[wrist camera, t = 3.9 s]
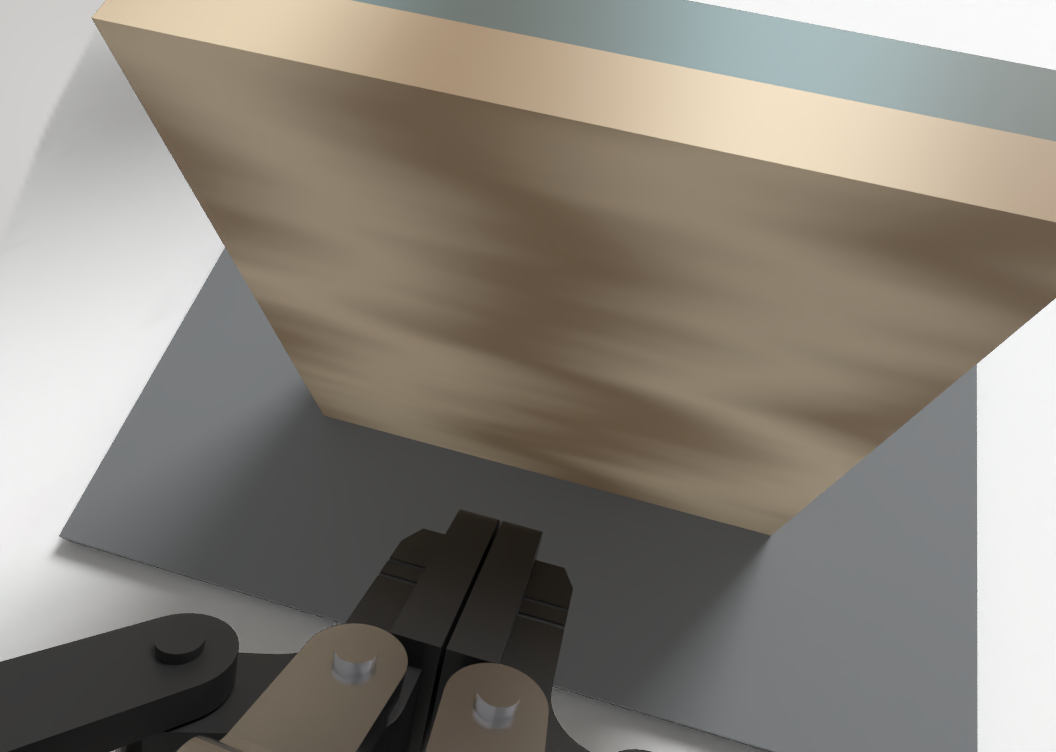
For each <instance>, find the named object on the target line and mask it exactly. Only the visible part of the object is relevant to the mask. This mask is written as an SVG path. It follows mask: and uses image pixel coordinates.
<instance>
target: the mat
mask: <svg viewBox="0 0 1056 752" xmlns="http://www.w3.org/2000/svg"><path fill="white" fill-rule="evenodd" d="M460 509H462V510H466V511H469V512H473V513H476V514H480V515H484V516H487V517H491V518H495V519H498V520H500V526H501V523H502V522H503V521H506V522H510V523H513V524H517V525H520V526H524V527H528V528H531V529H535V530H539V531H542V532H543V534H542V538H541V543H540V547H539V551H538V555H537V560H538V561H542V562H546V563H549V564H553V565H556V566H560V567H563V568H565V570H566V572H567V575H568V577H569V580H570V582H571V585H572V587H573V591H572V596H571V601H570V606H569V610H568V615H567V620H566V625H565V629H564V634H563V639H562V644H561V648H560V653H559V658H558V663H557V667H556V672H555V677H554V682H553V686H554V687H557V688H560V689H564V690H567V691H570V692H574V693H577V694H580V695H584V696H587V697H590V698H594V699H597V700H600V701H604V702H607V703H610V704H614V705H617V706H620V707H624V708H627V709H630V710H634V711H637V712H640V713H644V714H647V715H650V716H653V717H657V718H660V719H663V720H667V721H670V722H673V723H677V724H680V725H683V726H687V727H690V728H693V729H697V730H700V731H703V732H707V733H710V734H713V735H717V736H720V737H723V738H727V739H730V740H733V741H737V742H740V743H743V744H747V745H750V746H753V747H757V748H760V749H763V750H767V751H770V752H977V364H976V365H975V366H974V367H972V368H971V369H970V370H969V371H968V372H966V373H965V374H964V375H963V376H962V377H960V378H959V379H958V380H957V381H956V382H954V383H953V384H952V385H951V386H950V387H948V388H947V389H946V390H945V391H944V392H942V393H941V394H940V395H939V396H938V397H936V398H935V399H934V400H933V401H932V402H930V403H929V404H928V405H927V406H926V407H924V408H923V409H922V410H921V411H920V412H918V413H917V414H916V415H915V416H914V417H912V418H911V419H910V420H909V421H908V422H906V423H905V424H904V425H903V426H902V427H901V428H899V429H898V430H897V431H896V432H895V433H893V434H892V435H891V436H890V437H889V438H887V439H886V440H885V441H884V442H883V443H881V444H880V445H879V446H878V447H877V448H875V449H874V450H873V451H872V452H871V453H869V454H868V455H867V456H866V457H865V458H863V459H862V460H861V461H860V462H859V463H857V464H856V465H855V466H854V467H853V468H851V469H850V470H849V471H848V472H847V473H845V474H844V475H843V476H842V477H841V478H839V479H838V480H837V481H836V482H835V483H833V484H832V485H831V486H830V487H829V488H827V489H826V490H825V491H824V492H823V493H821V494H820V495H819V496H818V497H817V498H815V499H814V500H813V501H812V502H811V503H809V504H808V505H807V506H806V507H805V508H803V509H802V510H801V511H800V512H799V513H797V514H796V515H795V516H794V517H793V518H791V519H790V520H789V521H788V522H787V523H786V524H784V525H783V526H782V527H781V528H780V529H778V530H777V531H776V532H775V533H774V534H772V535H767V534H763V533H759V532H756V531H752V530H748V529H744V528H741V527H737V526H733V525H730V524H726V523H722V522H718V521H715V520H711V519H707V518H703V517H700V516H696V515H692V514H689V513H685V512H681V511H677V510H674V509H670V508H666V507H662V506H659V505H655V504H651V503H648V502H644V501H640V500H636V499H633V498H629V497H625V496H621V495H618V494H614V493H610V492H607V491H603V490H599V489H595V488H592V487H588V486H584V485H580V484H577V483H573V482H569V481H566V480H562V479H558V478H554V477H551V476H547V475H543V474H539V473H536V472H532V471H528V470H525V469H521V468H517V467H513V466H510V465H506V464H502V463H498V462H495V461H491V460H487V459H484V458H480V457H476V456H472V455H469V454H465V453H461V452H457V451H454V450H450V449H446V448H443V447H439V446H435V445H431V444H428V443H424V442H420V441H416V440H413V439H409V438H405V437H402V436H398V435H394V434H390V433H387V432H383V431H379V430H375V429H372V428H368V427H364V426H361V425H357V424H353V423H349V422H346V421H342V420H338V419H334V418H331V417H327V416H324V415H323V414H322V412H321V410H320V408H319V407H318V405H317V403H316V402H315V400H314V398H313V396H312V395H311V393H310V391H309V390H308V388H307V386H306V384H305V383H304V381H303V379H302V378H301V376H300V374H299V372H298V371H297V369H296V367H295V366H294V364H293V362H292V360H291V359H290V357H289V355H288V354H287V352H286V350H285V348H284V347H283V345H282V343H281V342H280V340H279V338H278V336H277V335H276V333H275V331H274V330H273V328H272V326H271V325H270V323H269V321H268V319H267V318H266V316H265V314H264V313H263V311H262V309H261V307H260V306H259V304H258V302H257V301H256V299H255V297H254V295H253V294H252V292H251V290H250V289H249V287H248V285H247V283H246V282H245V280H244V278H243V277H242V275H241V273H240V271H239V270H238V268H237V266H236V265H235V263H234V261H233V259H232V258H231V256H230V254H229V253H228V251H227V249H226V247H225V249H224V251H223V252H222V254H221V256H220V257H219V259H218V261H217V263H216V264H215V266H214V268H213V270H212V271H211V273H210V275H209V277H208V278H207V280H206V282H205V284H204V285H203V287H202V289H201V290H200V292H199V294H198V296H197V297H196V299H195V301H194V303H193V304H192V306H191V308H190V310H189V311H188V313H187V315H186V317H185V318H184V320H183V322H182V323H181V325H180V327H179V329H178V330H177V332H176V334H175V336H174V337H173V339H172V341H171V343H170V344H169V346H168V348H167V350H166V351H165V353H164V355H163V356H162V358H161V360H160V362H159V363H158V365H157V367H156V369H155V370H154V372H153V374H152V376H151V377H150V379H149V381H148V382H147V384H146V386H145V388H144V389H143V391H142V393H141V395H140V396H139V398H138V400H137V402H136V403H135V405H134V407H133V409H132V410H131V412H130V414H129V415H128V417H127V419H126V421H125V422H124V424H123V426H122V428H121V429H120V431H119V433H118V435H117V436H116V438H115V440H114V442H113V443H112V445H111V447H110V448H109V450H108V452H107V454H106V455H105V457H104V459H103V461H102V462H101V464H100V466H99V468H98V469H97V471H96V473H95V475H94V476H93V478H92V480H91V481H90V483H89V485H88V487H87V488H86V490H85V492H84V494H83V495H82V497H81V499H80V501H79V502H78V504H77V506H76V508H75V509H74V511H73V513H72V514H71V516H70V518H69V520H68V521H67V523H66V525H65V527H64V528H63V530H62V532H61V534H60V535H59V536H60V537H62V538H64V539H66V540H68V541H72V542H75V543H78V544H82V545H85V546H88V547H92V548H95V549H98V550H102V551H105V552H108V553H112V554H115V555H118V556H122V557H125V558H128V559H132V560H135V561H138V562H142V563H145V564H148V565H151V566H155V567H158V568H161V569H165V570H168V571H171V572H175V573H178V574H181V575H185V576H188V577H191V578H195V579H198V580H201V581H205V582H208V583H211V584H215V585H218V586H221V587H225V588H228V589H231V590H235V591H238V592H241V593H245V594H248V595H251V596H255V597H258V598H261V599H265V600H268V601H271V602H274V603H278V604H281V605H284V606H288V607H291V608H294V609H298V610H301V611H304V612H308V613H311V614H314V615H318V616H321V617H324V618H328V619H331V620H334V621H338V622H341V623H344V624H345V623H346V621H347V620H348V618H349V617H350V615H351V614H352V612H353V611H354V609H355V608H356V606H357V605H358V603H359V602H360V600H361V599H362V598H363V596H364V595H365V593H366V592H367V590H368V589H369V587H370V586H371V584H372V583H373V581H374V580H375V578H376V577H377V576H379V574H380V571H381V570H382V568H383V567H384V565H385V564H386V562H387V561H389V559H390V556H391V555H392V554H393V552H394V551H395V549H396V548H397V546H398V545H399V543H400V542H401V540H403V539H405V538H406V537H408V536H410V535H412V534H414V533H416V532H417V531H419V530H421V529H423V528H424V529H427V530H431V531H434V532H438V533H442V534H446V532H447V530H448V528H449V527H450V525H451V523H452V522H453V520H454V518H455V516H456V515H457V513H458V511H459V510H460ZM499 528H500V527H499Z"/></svg>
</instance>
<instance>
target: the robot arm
mask: <svg viewBox="0 0 1056 752" xmlns="http://www.w3.org/2000/svg"><path fill="white" fill-rule="evenodd" d="M499 527H500V528H499ZM542 534H543V532H542V531H539V530H535V529H531V528H528V527H524V526H520V525H517V524H513V523H510V522H506V521H503V522H502V523H501V526H500V520H498V519H495V518H491V517H487V516H484V515H480V514H476V513H473V512H469V511H466V510H462V509H460V510H459V511H458V513H457V515H456V516H455V518H454V520H453V522H452V523H451V525H450V527H449V528H448V530H447V532H446V534H442V533H438V532H434V531H431V530H427V529H424V528H423V529H421V530H419V531H417V532H416V533H414V534H412V535H410V536H408V537H406V538H405V539H403V540H401V542H400V543H399V545H398V546H397V548H396V549H395V551H394V552H393V554H392V555H391V556H390V559H389V561H387V562H386V564H385V565H384V567H383V568H382V570H381V571H380V574H379V576H377V577H376V578H375V580H374V581H373V583H372V584H371V586H370V587H369V589H368V590H367V592H366V593H365V595H364V596H363V598H362V599H361V600H360V602H359V603H358V605H357V606H356V608H355V609H354V611H353V612H352V614H351V615H350V617H349V618H348V620H347V621H346V623H345V624H341V625H336V626H333V627H330V628H327V629H325V630H323V631H320V632H319V633H317V634H316V635H314V636H313V637H312V638H311V639H310V640H309V641H308V642H307V643H306V644H305V645H304V647H303V648H302V649H301V650H300V651H299V652H298V653H293V654H254V653H238V649H239V642H238V637H237V635H236V633H235V631H234V630H233V629H232V628H231V627H230V626H229V625H228V624H226V623H225V622H223V621H221V620H220V619H217V618H214V617H212V616H208V615H203V614H194V613H185V614H174V615H169V616H164V617H160V618H157V619H153V620H150V621H146V622H142V623H139V624H135V625H132V626H128V627H124V628H121V629H117V630H114V631H110V632H106V633H103V634H99V635H96V636H92V637H88V638H85V639H81V640H78V641H74V642H70V643H67V644H63V645H60V646H56V647H52V648H49V649H45V650H42V651H38V652H34V653H31V654H27V655H24V656H20V657H16V658H13V659H9V660H5V661H2V662H0V752H110V751H113V750H115V749H116V752H589V751H588V750H586V749H585V748H583V747H582V746H580V745H579V744H577V743H576V742H575V741H574V740H573V739H572V738H571V737H569V735H568V734H567V733H566V732H565V731H564V730H563V729H562V727H561V726H560V724H559V723H558V721H557V719H556V717H555V715H554V712H553V709H552V705H551V691H552V686H553V682H554V677H555V672H556V667H557V663H558V658H559V653H560V648H561V644H562V639H563V634H564V629H565V625H566V620H567V615H568V610H569V606H570V601H571V596H572V591H573V587H572V585H571V582H570V580H569V577H568V575H567V572H566V570H565V568H563V567H560V566H556V565H553V564H549V563H546V562H542V561H538V560H537V555H538V551H539V547H540V543H541V538H542ZM619 752H650V751H646V750H638V749H630V750H623V751H619Z"/></svg>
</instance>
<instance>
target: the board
mask: <svg viewBox="0 0 1056 752" xmlns="http://www.w3.org/2000/svg"><path fill="white" fill-rule="evenodd" d="M92 20H93V21H94V23H95V25H96V26H97V28H98V30H99V32H100V33H101V35H102V37H103V38H104V40H105V42H106V44H107V45H108V47H109V49H110V50H111V52H112V54H113V56H114V57H115V59H116V61H117V62H118V64H119V66H120V68H121V69H122V71H123V73H124V74H125V76H126V78H127V80H128V81H129V83H130V85H131V86H132V88H133V90H134V92H135V93H136V95H137V97H138V98H139V100H140V102H141V104H142V105H143V107H144V109H145V110H146V112H147V114H148V115H149V117H150V119H151V121H152V122H153V124H154V126H155V127H156V129H157V131H158V133H159V134H160V136H161V138H162V139H163V141H164V143H165V145H166V146H167V148H168V150H169V151H170V153H171V155H172V157H173V158H174V160H175V162H176V163H177V165H178V167H179V169H180V170H181V172H182V174H183V175H184V177H185V179H186V181H187V182H188V184H189V186H190V187H191V189H192V191H193V193H194V194H195V196H196V198H197V199H198V201H199V203H200V205H201V206H202V208H203V210H204V211H205V213H206V215H207V217H208V218H209V220H210V222H211V223H212V225H213V227H214V229H215V230H216V232H217V234H218V235H219V237H220V239H221V241H222V242H223V244H224V246H225V247H226V249H227V251H228V253H229V254H230V256H231V258H232V259H233V261H234V263H235V265H236V266H237V268H238V270H239V271H240V273H241V275H242V277H243V278H244V280H245V282H246V283H247V285H248V287H249V289H250V290H251V292H252V294H253V295H254V297H255V299H256V301H257V302H258V304H259V306H260V307H261V309H262V311H263V313H264V314H265V316H266V318H267V319H268V321H269V323H270V325H271V326H272V328H273V330H274V331H275V333H276V335H277V336H278V338H279V340H280V342H281V343H282V345H283V347H284V348H285V350H286V352H287V354H288V355H289V357H290V359H291V360H292V362H293V364H294V366H295V367H296V369H297V371H298V372H299V374H300V376H301V378H302V379H303V381H304V383H305V384H306V386H307V388H308V390H309V391H310V393H311V395H312V396H313V398H314V400H315V402H316V403H317V405H318V407H319V408H320V410H321V412H322V414H323V415H324V416H327V417H331V418H334V419H338V420H342V421H346V422H349V423H353V424H357V425H361V426H364V427H368V428H372V429H375V430H379V431H383V432H387V433H390V434H394V435H398V436H402V437H405V438H409V439H413V440H416V441H420V442H424V443H428V444H431V445H435V446H439V447H443V448H446V449H450V450H454V451H457V452H461V453H465V454H469V455H472V456H476V457H480V458H484V459H487V460H491V461H495V462H498V463H502V464H506V465H510V466H513V467H517V468H521V469H525V470H528V471H532V472H536V473H539V474H543V475H547V476H551V477H554V478H558V479H562V480H566V481H569V482H573V483H577V484H580V485H584V486H588V487H592V488H595V489H599V490H603V491H607V492H610V493H614V494H618V495H621V496H625V497H629V498H633V499H636V500H640V501H644V502H648V503H651V504H655V505H659V506H662V507H666V508H670V509H674V510H677V511H681V512H685V513H689V514H692V515H696V516H700V517H703V518H707V519H711V520H715V521H718V522H722V523H726V524H730V525H733V526H737V527H741V528H744V529H748V530H752V531H756V532H759V533H763V534H767V535H772V534H774V533H775V532H776V531H777V530H778V529H780V528H781V527H782V526H783V525H784V524H786V523H787V522H788V521H789V520H790V519H791V518H793V517H794V516H795V515H796V514H797V513H799V512H800V511H801V510H802V509H803V508H805V507H806V506H807V505H808V504H809V503H811V502H812V501H813V500H814V499H815V498H817V497H818V496H819V495H820V494H821V493H823V492H824V491H825V490H826V489H827V488H829V487H830V486H831V485H832V484H833V483H835V482H836V481H837V480H838V479H839V478H841V477H842V476H843V475H844V474H845V473H847V472H848V471H849V470H850V469H851V468H853V467H854V466H855V465H856V464H857V463H859V462H860V461H861V460H862V459H863V458H865V457H866V456H867V455H868V454H869V453H871V452H872V451H873V450H874V449H875V448H877V447H878V446H879V445H880V444H881V443H883V442H884V441H885V440H886V439H887V438H889V437H890V436H891V435H892V434H893V433H895V432H896V431H897V430H898V429H899V428H901V427H902V426H903V425H904V424H905V423H906V422H908V421H909V420H910V419H911V418H912V417H914V416H915V415H916V414H917V413H918V412H920V411H921V410H922V409H923V408H924V407H926V406H927V405H928V404H929V403H930V402H932V401H933V400H934V399H935V398H936V397H938V396H939V395H940V394H941V393H942V392H944V391H945V390H946V389H947V388H948V387H950V386H951V385H952V384H953V383H954V382H956V381H957V380H958V379H959V378H960V377H962V376H963V375H964V374H965V373H966V372H968V371H969V370H970V369H971V368H972V367H974V366H975V365H976V364H977V363H978V362H980V361H981V360H982V359H983V358H984V357H986V356H987V355H988V354H989V353H990V352H992V351H993V350H994V349H995V348H996V347H998V346H999V345H1000V344H1001V343H1002V342H1004V341H1005V340H1006V339H1007V338H1008V337H1010V336H1011V335H1012V334H1013V333H1014V332H1015V331H1017V330H1018V329H1019V328H1020V327H1021V326H1023V325H1024V324H1025V323H1026V322H1027V321H1029V320H1030V319H1031V318H1032V317H1033V316H1035V315H1036V314H1037V313H1038V312H1039V311H1041V310H1042V309H1043V308H1044V307H1045V306H1047V305H1048V304H1049V303H1050V302H1051V301H1053V300H1054V299H1055V298H1056V70H1051V69H1046V68H1041V67H1035V66H1030V65H1025V64H1019V63H1014V62H1009V61H1004V60H998V59H993V58H988V57H983V56H977V55H972V54H967V53H962V52H956V51H951V50H946V49H941V48H935V47H930V46H925V45H920V44H914V43H909V42H904V41H899V40H893V39H888V38H883V37H878V36H872V35H867V34H862V33H856V32H851V31H846V30H841V29H835V28H830V27H825V26H820V25H814V24H809V23H804V22H799V21H793V20H788V19H783V18H778V17H772V16H767V15H762V14H757V13H751V12H746V11H741V10H736V9H730V8H725V7H720V6H715V5H709V4H704V3H699V2H693V1H688V0H106V1H105V2H104V3H103V4H102V6H101V7H100V8H99V9H98V10H97V12H96V13H95V14H94V15H93V16H92Z"/></svg>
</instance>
